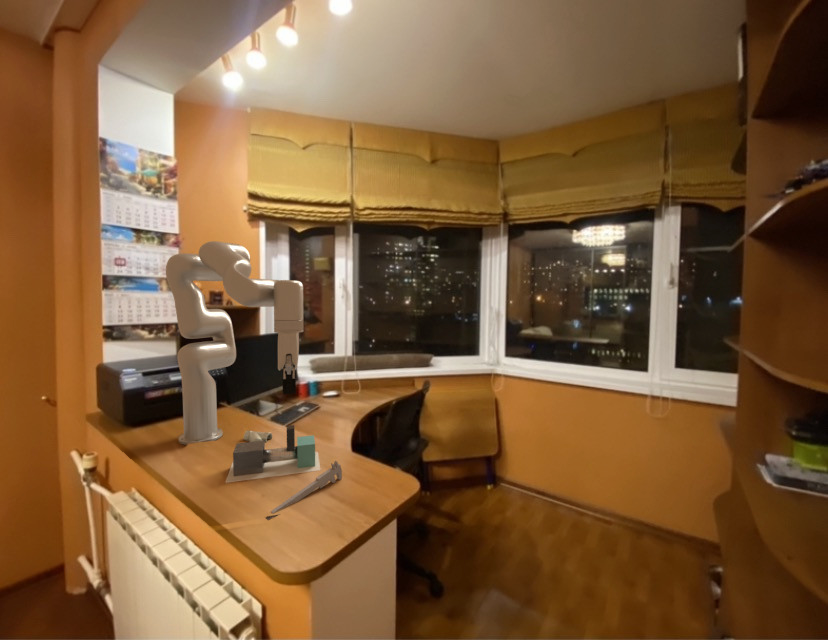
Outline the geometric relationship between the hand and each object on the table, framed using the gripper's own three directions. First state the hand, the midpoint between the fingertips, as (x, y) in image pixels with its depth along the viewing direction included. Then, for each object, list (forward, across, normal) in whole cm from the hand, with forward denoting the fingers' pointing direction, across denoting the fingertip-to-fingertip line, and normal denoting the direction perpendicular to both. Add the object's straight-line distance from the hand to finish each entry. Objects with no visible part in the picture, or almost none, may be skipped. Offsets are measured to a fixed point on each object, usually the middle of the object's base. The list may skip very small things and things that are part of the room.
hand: (289, 388), depth 101 cm
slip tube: (+20, 0, -2) cm, 20 cm away
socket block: (+21, 0, +4) cm, 21 cm away
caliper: (+22, +18, +4) cm, 29 cm away
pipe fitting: (+23, -19, -11) cm, 32 cm away
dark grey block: (+21, 0, -10) cm, 23 cm away
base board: (+22, 0, -4) cm, 22 cm away
